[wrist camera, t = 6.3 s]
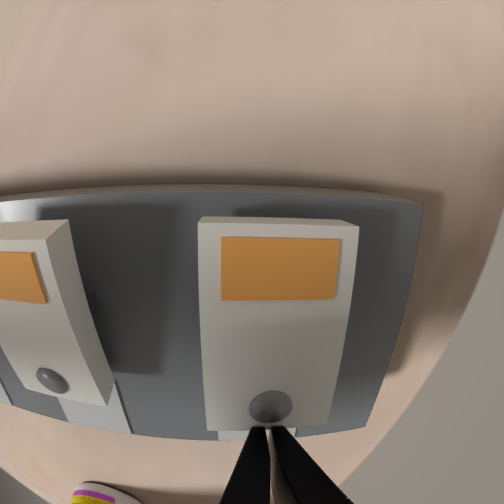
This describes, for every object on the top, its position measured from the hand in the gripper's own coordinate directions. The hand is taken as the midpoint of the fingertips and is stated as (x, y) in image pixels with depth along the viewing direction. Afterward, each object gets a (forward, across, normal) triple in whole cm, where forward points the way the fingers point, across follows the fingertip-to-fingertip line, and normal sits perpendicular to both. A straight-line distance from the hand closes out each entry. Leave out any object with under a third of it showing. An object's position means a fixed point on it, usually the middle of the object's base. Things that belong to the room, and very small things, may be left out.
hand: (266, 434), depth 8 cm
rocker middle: (+1, +7, -3) cm, 8 cm away
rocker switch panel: (+5, +7, -2) cm, 9 cm away
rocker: (+1, 0, -3) cm, 3 cm away
